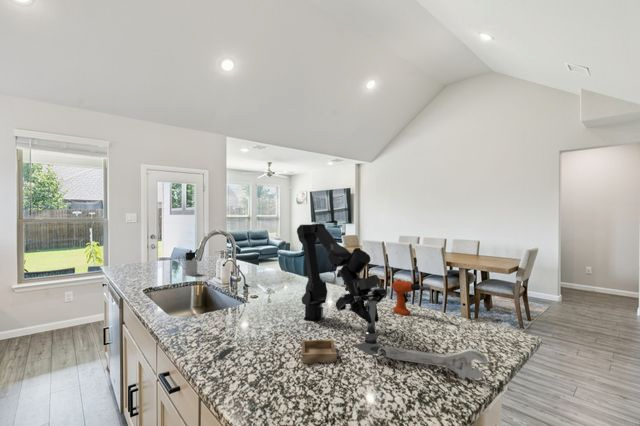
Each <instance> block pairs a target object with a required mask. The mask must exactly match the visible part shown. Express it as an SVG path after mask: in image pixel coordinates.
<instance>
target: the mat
mask: <svg viewBox="0 0 640 426" xmlns="http://www.w3.org/2000/svg"><path fill="white" fill-rule="evenodd" d="M382 346H383V345H381V344H379V343H378V342H377V343H376V344H368V343H366V342H365V341H364V342H362V343H358V344H356V345H353V347H354V348H356V349H358V350H360V351H361V352H363V353H365V354H367V355H368V356H372V355H376V354H378V349H379V348H380V347H382ZM382 352H386V351H385V350H384V349H381V353H382Z"/></svg>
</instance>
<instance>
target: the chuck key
mask: <svg viewBox="0 0 640 426" xmlns="http://www.w3.org/2000/svg"><path fill="white" fill-rule="evenodd" d="M378 304H379V303H378V302H377V301H375V300H368V301H367V303H365V302H364V305H366V306H367V312H368V314H369V316H370V318H371V321H372V323H371V324H369V323H368V322H367V321H366V330H365V331H364V343H365V342H366V343H368V344H376V343H377V344H378V331H376V321H375V309H376V305H378Z"/></svg>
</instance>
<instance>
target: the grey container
mask: <svg viewBox="0 0 640 426" xmlns="http://www.w3.org/2000/svg"><path fill="white" fill-rule="evenodd" d="M180 256H183V260H184V262H185V263H184V264H185V265H184V266H185V267H184V266H183V265H182V263H181V261H180ZM177 260H178V262H179V265H180V266H181V267H182V269H183V270H185V271H184V276H185V277H189V276H190V277H191V276H197V275H199V273H198V260H197V261H196V260H195V252H190V251H189V252H185V255H184V254H179V255H178V259H177Z"/></svg>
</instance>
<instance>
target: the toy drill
mask: <svg viewBox="0 0 640 426" xmlns="http://www.w3.org/2000/svg"><path fill="white" fill-rule="evenodd" d="M391 287H392V291H393V292H394V293H395V294H396V304H395V306H393V312H392V313H395V314H398V315H401V316H406V317H407V316H410V315H411V311H410V310H409V309H408V308H407V305H406V304H407V302H409V299H408V296H407V294H406V293H411V292H414V291H420V290H431V287H430V286H423V285H422V286H421V285H420V284H419V283H418V284H416V283H413V282H411V281H405V280H401V279H397V280H395V281H394V282H393V283H392V285H391Z"/></svg>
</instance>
